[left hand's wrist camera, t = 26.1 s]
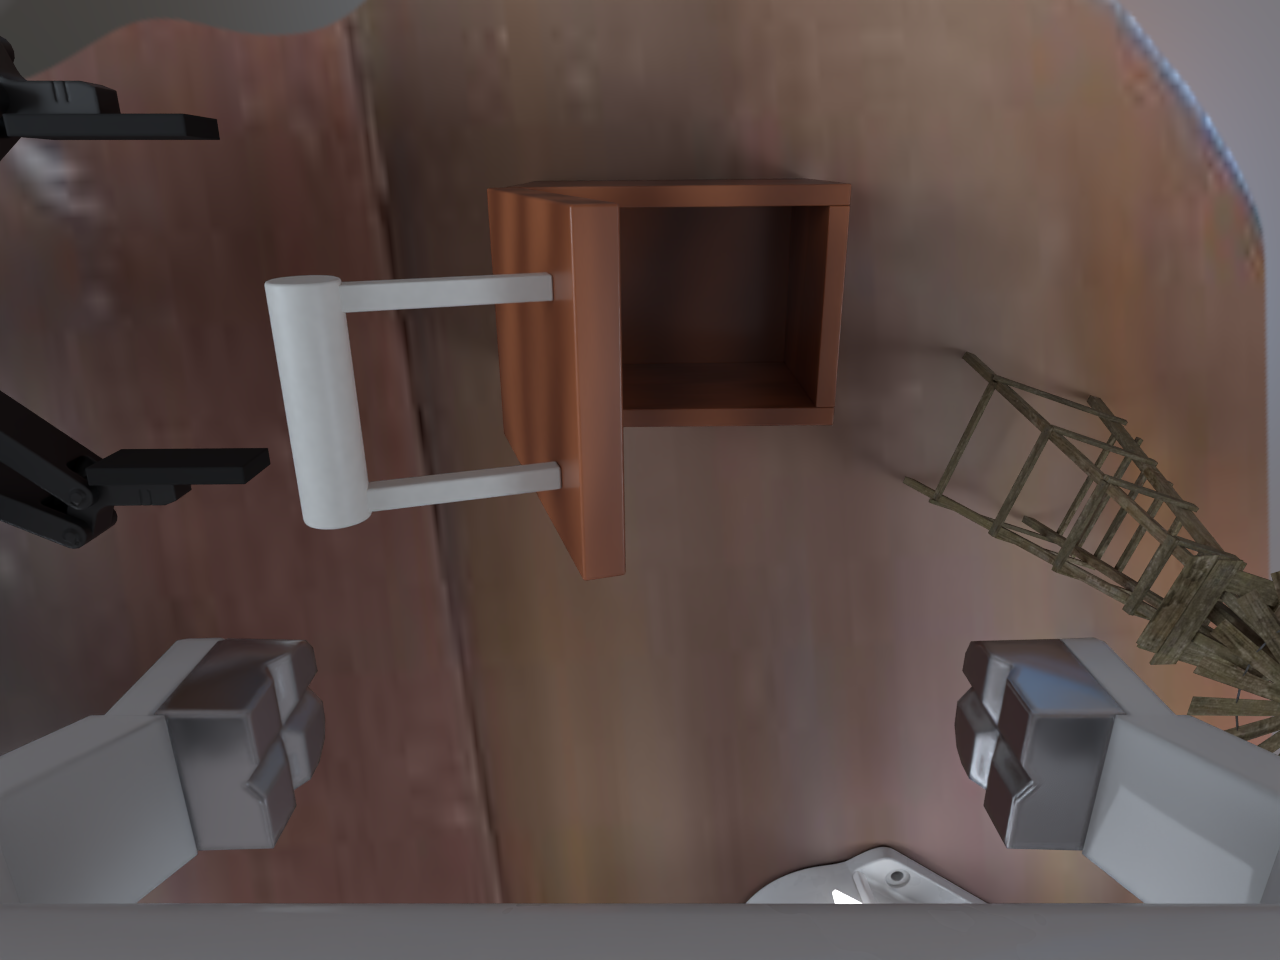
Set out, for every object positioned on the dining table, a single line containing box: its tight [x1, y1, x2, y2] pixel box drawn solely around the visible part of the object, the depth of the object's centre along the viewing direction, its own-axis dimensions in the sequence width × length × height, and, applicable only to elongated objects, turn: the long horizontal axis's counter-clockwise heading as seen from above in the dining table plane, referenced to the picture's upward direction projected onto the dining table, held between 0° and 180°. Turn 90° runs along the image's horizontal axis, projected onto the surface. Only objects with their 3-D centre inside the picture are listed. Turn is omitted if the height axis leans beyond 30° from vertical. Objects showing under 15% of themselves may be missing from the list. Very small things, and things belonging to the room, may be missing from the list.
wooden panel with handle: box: [265, 187, 626, 581], centre depth 27 cm, size 14×10×9 cm
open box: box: [506, 179, 852, 427], centre depth 40 cm, size 14×10×10 cm
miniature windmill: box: [903, 352, 1280, 756], centre depth 34 cm, size 9×8×30 cm
